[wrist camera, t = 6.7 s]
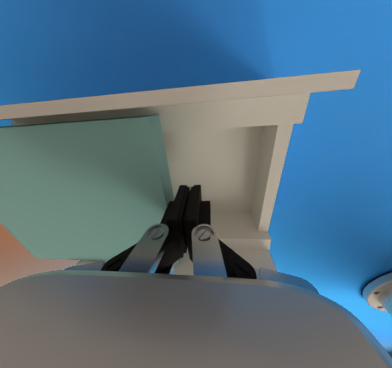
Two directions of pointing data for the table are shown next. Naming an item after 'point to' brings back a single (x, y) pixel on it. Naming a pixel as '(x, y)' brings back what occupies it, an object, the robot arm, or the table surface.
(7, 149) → the lid
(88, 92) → the table surface
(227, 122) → the box
